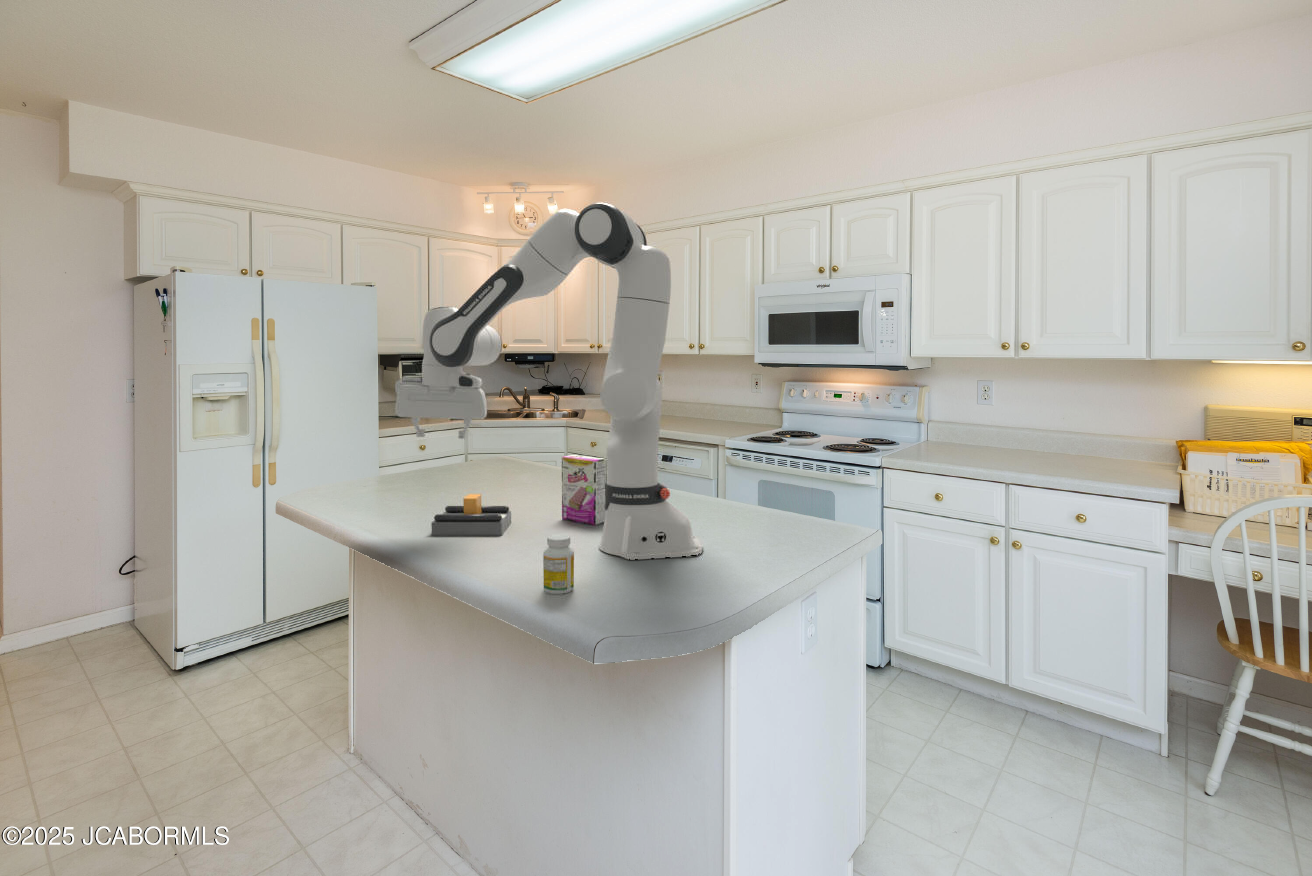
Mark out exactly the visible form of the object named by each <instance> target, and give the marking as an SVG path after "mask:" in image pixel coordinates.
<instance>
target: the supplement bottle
mask: <svg viewBox="0 0 1312 876" xmlns="http://www.w3.org/2000/svg"><path fill="white" fill-rule="evenodd" d="M546 540H547V541H546V544H547V546H548V547H546V548H545V549H544V551H543V552H542V553H543V555H542V557H543V558H542V559H543V563H542V564H543V568H542V569H543V576H542V577H543V590H544V592H546V593H547V594H550V595H565V594H568V593H567V592H569V593H570V591H571V592H572V591H573V590H574V587H575V579H574V578H575V576H574V575H575V551H574V549H573V548H572V547H571V546H570V545H571V536H570V535H569V534H567V533H566V534H564V533H553V534H550V535H548V536H547V539H546ZM564 593H565V594H564Z"/></svg>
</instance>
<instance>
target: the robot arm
mask: <svg viewBox="0 0 1312 876" xmlns="http://www.w3.org/2000/svg"><path fill="white" fill-rule="evenodd" d="M587 258H594V259H595V260H596V261H597V262H599V263H600V264H603V265H605V266H608V267H611V268H612V269H615V270H616V272H617V274H618V288H617V296H616V305H615V313H614V314H615V315H614V323H613V331H612V339H611V342H610V347H609V351H608V355H607V359H606V363H605V369H604V374H603V380H602V384H601V388H600V393H599V394H600V395H599V397H600V402H601V405H602V407H603V409H604V411H605V412H606V413H607V414H609V416H610V424H609V425H610V426H609V430H608V431H609V432H608V439H607V444H606V459H607V482H606V483H605V487H604V507H605V520H604V523H603V528H602V533H601V536H600V537H601V538H600V541H599V545H598V549H599V550H600V551H602V552H603V553H606V554H610V555H612V556H613V555H614V556H618V557H622V558H623V559H625V560H629V559H630V561H636V560H635V559H638V560H651V558H654V559H666V558H665V557H670V558H682V556H686V557H692V556H691V555H697V554H699V553H700V552H701V553H703V550H702V548H703V543H702V541H701V539H700V538H698V537H696V536H695V535H693V530H692V529H693V528H692V525H691V522H690V520H689V518H688V517H687V515H686V514H684V513H683V512H682V511H680V510H679V509H678V508H676V507H675V506H674V505H673V504H671V503H670V502H669V501H667V499H669V497H670V495H671V492H670V489H668V488H667V486H665V485H664V484H661V483H660V482H658V481H659V480H658V479H659V478H658V473H659V466H658V465H659V441H660V439H659V438H660V428H661V415H662V400H663V399H662V398H663V397H662V395H663V390H662V383H661V382H660V380H659V378H658V377H659V371H660V366H661V361H662V356H663V353H664V348H665V345H666V336H667V327H668V320H669V313H670V304H671V303H670V301H671V292H672V291H671V290H672V285H671V284H672V278H671V277H672V275H671V273H672V272H671V262H670V258H669V257H668V255H667V254H666V253H665V252H664V251H663V250H661V249H659V248H657V247H654V246H650V245H648V243H647V238H646V235H645V232H644V231H643V229H642V228H641V227H640V225H638V224H637V223H636V222H635V221H634V219H632V218H631V216H629V214H627V213H626V212H625V211H622V210H620V209H619V208H618V207H616V206H615V205H613V204H611V203H610V204H609V203H606V202H595V203H592V204H589V205H587V206H586V207H584V208H583V209H582V210H581V211H580V212H579V213H578V212H577V211H575V210H572V209H567V208H563V209H559V210H557V211H556V212H555V213H554V214H552V215H551V216H550V217H549V218H548V219H546V220H545V221H544V222H543V223H542V224H541V225H540V226H539V227H538V228H537V229H536V230H535V231H534V232H533V234H532V235H531V236H530V237H529V238H528V239H527V241H526V242H525V243H524V244H523V245H522V247H521V248H519V250H518V251H517V252H516V253H515V254H514V255H513V256H512V257H511V258H510V259H509V260H508V261H507V262H506V263H505V264H504V265H502V266H501V267H500V268H499V269H498V270H497V271H495V272H494V273H493V274H492V275H490V277H489V278H487V280H485V281H484V283H483V284H482V285H480V287H478V288H477V289H476V291H475V292H473V294H472V295H470V297H469V298H468V299H467V300H465V302H464V303H463V304H462V305H461V306H460V307H459V308H458V307H453V306H439V307H434V308H430V309H429V310H427V312H426V313H425V315H424V319H423V323H422V334H421V335H422V336H421V337H422V338H421V339H422V341H421V346H422V351H423V359H422V362H421V377H420V376H413V377H412V376H411V377H409V376H402V377H401V378H399V379H397V380H396V381H395V385H394V386H395V394H396V399H395V415H396V416H398V417H400V418H411V423H412V425H413V427H414V429H415V430H416V438H425V436H426V433H425V431H426V428H421V425H420V423H419V422H421V421H420V420H421V419H423V418H424V419H447V420H448V419H451V420H452V419H453V420H463V425H465V426H463V429H461V430H458V439H466V438H467V431H468V429H469V428H470V426H471V424H472V420H474V421H475V420H477V421H478V420H479V421H481V420H484V419H485V418H486V417H487V414H488V408H487V399H486V393H485V391H484V390H483V389H482V388H481V387H482V385H483V380H482V378H480V377H479V376H478V377H477V376H475V375H472V374H470V373H468V372H467V373H466V372H463V366H466V367H472V366H473V367H475V366H476V367H477V366H479V367H480V366H488V365H491V364H493V363H495V361H497V360H498V359H499V358H500V356H501V353H502V347H503V343H502V338H501V335H500V333H499V332H498V331H497V330H496V329H495V328H494V327H493V326H490V325H489V324H490V323H492V321H493V320H494V319H495V318H496V317H497V316H498V315H499V314H500V313H501V312H502V311H503V310H504V309H505V308H506V307H508V306H510V305H511V304H513V303H516V302H519V301H523V300H526V299H533V298H537V297H538V298H539V297H543V296H548V295H549V294H550V293H551V292H553V291H554V290H555V289H556V288H558V287H559V286H560V285H561V284H562V283H563V282H564V281H565V280H566V279H567V277H568V276H569V275H570V273H572V271H573V270H574V269H575V267H576V266H577V265H578V264H579V263H580V262H581V261H583V260H585V259H587ZM701 553H700V554H701ZM700 554H699V555H700ZM697 556H698V555H697Z"/></svg>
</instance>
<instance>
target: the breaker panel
mask: <svg viewBox="0 0 1312 876" xmlns="http://www.w3.org/2000/svg"><path fill="white" fill-rule="evenodd" d="M444 509H445V510H444V512H443V513H442V514H439V513H437V514H435V515H434V517H433V521H432V522H431V525H430V527H431V536H441V535H442V536H445V537H446V536H453V537H454V536H457V537H458V536H459V537H460V536H463V537H465V536H467V537H468V536H470V537H471V536H473V537H474V536H504V535H503V534H504V533H505V532H506V530H507V529H508V528H509V527H510V525H511V524H512V511H511V510H510V507H509V506H508V505H481V511H482V512H481V513H480V514H464V505H447V506H445V508H444Z"/></svg>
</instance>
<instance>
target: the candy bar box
mask: <svg viewBox="0 0 1312 876" xmlns="http://www.w3.org/2000/svg"><path fill="white" fill-rule="evenodd" d="M606 482H607V458H602V457H595V456H587V455H579V454H570V455H563V456H562V457H561V519H562V520H566V521H571V522H576V523H582V524H587V525H592V526H598V525H601V524H604V520H605V507H604V487H605V483H606Z"/></svg>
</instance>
